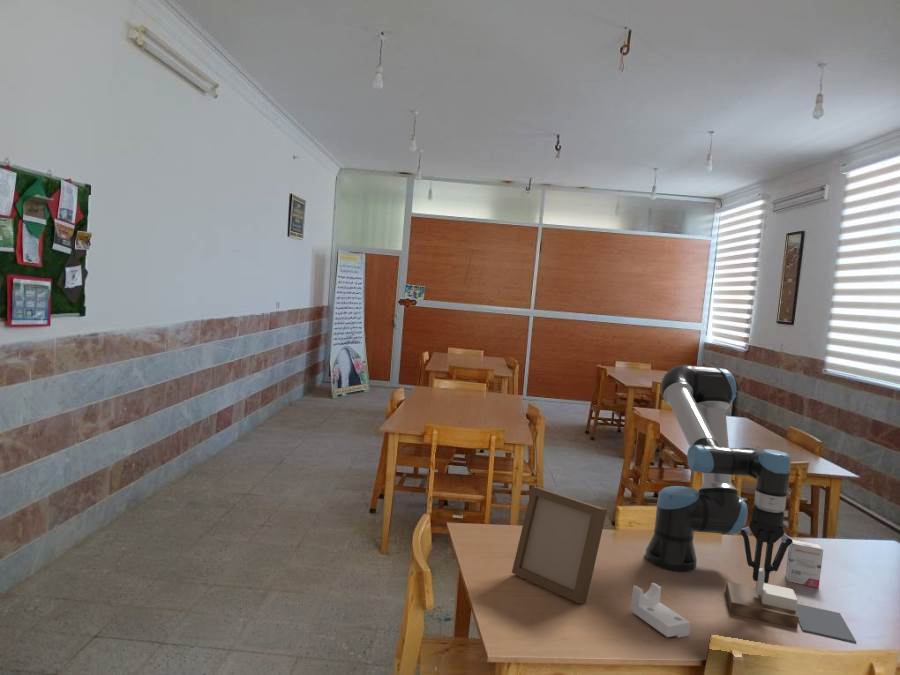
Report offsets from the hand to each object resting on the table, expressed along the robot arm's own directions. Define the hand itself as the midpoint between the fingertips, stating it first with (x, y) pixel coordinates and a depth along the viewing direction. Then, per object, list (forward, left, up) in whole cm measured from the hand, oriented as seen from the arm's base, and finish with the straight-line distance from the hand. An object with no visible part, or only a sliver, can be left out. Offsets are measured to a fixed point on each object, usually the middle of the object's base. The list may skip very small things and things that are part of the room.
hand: (758, 592), depth 172 cm
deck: (+1, 0, -4) cm, 5 cm away
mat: (+16, 0, -4) cm, 16 cm away
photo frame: (-52, -13, -5) cm, 54 cm away
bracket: (-25, -22, -5) cm, 34 cm away
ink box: (+16, +27, -5) cm, 32 cm away
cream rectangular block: (+5, 0, -1) cm, 5 cm away
